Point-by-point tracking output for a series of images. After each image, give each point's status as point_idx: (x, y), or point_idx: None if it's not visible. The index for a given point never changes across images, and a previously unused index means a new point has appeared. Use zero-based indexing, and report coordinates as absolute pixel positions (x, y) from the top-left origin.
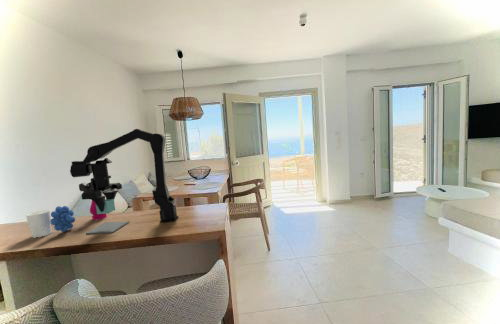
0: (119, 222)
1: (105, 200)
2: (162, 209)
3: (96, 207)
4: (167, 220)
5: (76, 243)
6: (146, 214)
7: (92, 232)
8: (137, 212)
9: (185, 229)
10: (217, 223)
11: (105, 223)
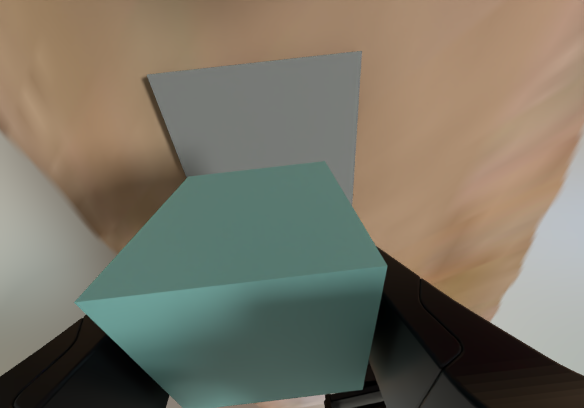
0: (339, 183)
1: (281, 356)
2: (326, 397)
3: (147, 228)
4: None
5: (35, 142)
6: (460, 230)
7: (168, 128)
8: (545, 151)
9: None
10: (303, 403)
11: (335, 83)
